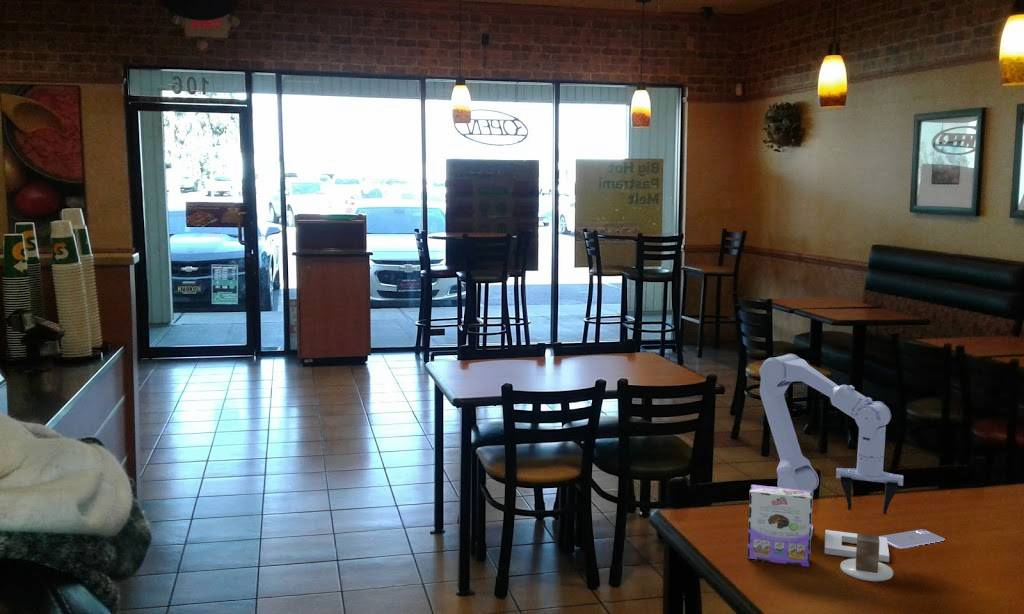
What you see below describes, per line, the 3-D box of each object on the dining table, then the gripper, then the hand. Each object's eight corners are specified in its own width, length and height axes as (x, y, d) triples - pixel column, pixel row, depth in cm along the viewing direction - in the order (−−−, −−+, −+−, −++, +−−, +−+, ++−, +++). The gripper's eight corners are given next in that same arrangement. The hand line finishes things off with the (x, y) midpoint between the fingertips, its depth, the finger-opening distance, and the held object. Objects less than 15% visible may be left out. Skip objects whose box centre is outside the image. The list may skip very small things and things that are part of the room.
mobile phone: (876, 535, 223) (923, 527, 228) (875, 539, 223) (923, 531, 228) (899, 546, 216) (947, 538, 221) (899, 550, 216) (947, 542, 221)
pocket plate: (824, 553, 213) (824, 547, 213) (825, 535, 224) (825, 529, 224) (888, 562, 208) (889, 555, 208) (886, 543, 220) (886, 537, 219)
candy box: (809, 558, 210) (813, 489, 208) (809, 568, 205) (812, 497, 203) (748, 550, 215) (751, 482, 213) (746, 559, 209) (749, 490, 207)
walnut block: (855, 570, 202) (857, 540, 201) (855, 562, 207) (857, 532, 206) (877, 573, 201) (879, 542, 200) (876, 565, 205) (878, 535, 204)
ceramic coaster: (840, 576, 200) (840, 574, 200) (840, 558, 210) (840, 555, 210) (894, 584, 196) (894, 581, 196) (891, 565, 207) (891, 562, 207)
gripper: (837, 455, 210) (833, 512, 212) (905, 462, 205) (901, 520, 207) (837, 447, 217) (834, 502, 218) (903, 454, 212) (899, 510, 213)
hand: (866, 510), depth 213 cm, fingers open, 7 cm apart
